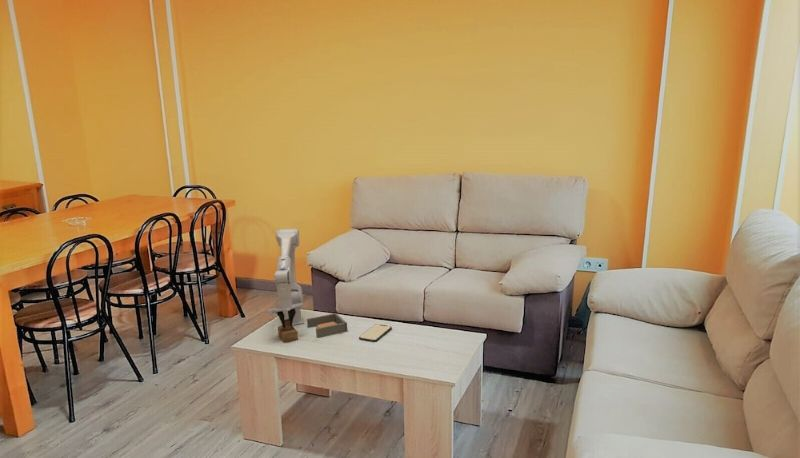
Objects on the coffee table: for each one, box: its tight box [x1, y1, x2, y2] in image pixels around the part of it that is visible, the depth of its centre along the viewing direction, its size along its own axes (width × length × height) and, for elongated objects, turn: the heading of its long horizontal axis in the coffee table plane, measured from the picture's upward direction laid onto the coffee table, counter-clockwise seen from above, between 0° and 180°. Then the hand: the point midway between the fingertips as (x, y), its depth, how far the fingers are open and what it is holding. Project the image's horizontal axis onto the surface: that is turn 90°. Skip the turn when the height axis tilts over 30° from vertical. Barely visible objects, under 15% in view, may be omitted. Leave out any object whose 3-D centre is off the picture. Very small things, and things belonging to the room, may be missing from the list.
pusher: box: [277, 319, 299, 344], centre depth 257 cm, size 10×6×8 cm, turn 26°
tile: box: [316, 322, 337, 328], centre depth 265 cm, size 8×8×2 cm
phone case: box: [358, 323, 393, 343], centre depth 258 cm, size 9×2×16 cm
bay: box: [306, 312, 348, 339], centre depth 265 cm, size 14×14×4 cm
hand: (287, 326), depth 256 cm, fingers closed on pusher, 2 cm apart
